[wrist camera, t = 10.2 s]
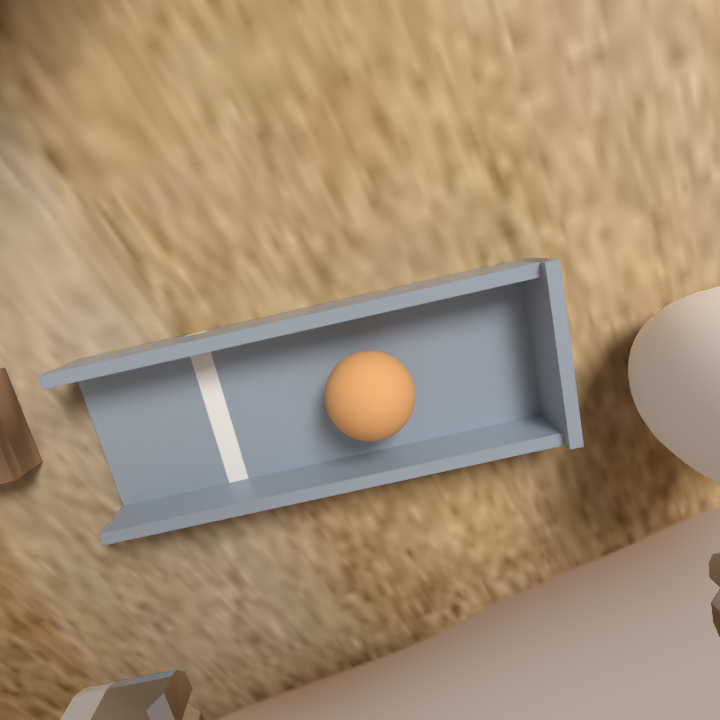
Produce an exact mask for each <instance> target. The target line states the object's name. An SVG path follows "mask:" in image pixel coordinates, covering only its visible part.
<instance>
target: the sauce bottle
mask: <svg viewBox="0 0 720 720" xmlns="http://www.w3.org/2000/svg"><path fill="white" fill-rule="evenodd" d="M628 378H629V385H630V391H631V394H632V397H633V400H634V403H635V405H636V408H637V410H638V412H639V414H640V416H641V417H642V419H643V420H644V422H645V423H646V425H647V426H648V428H649V429H650V431H651V432H652V433H653V435H654V436H655V437H656V438H657V439H658V440H659V441H660V442H661V443H662V444H663V445H664V446H665V447H666V448H668V449H669V450H670V451H671V452H672V453H674V454H675V455H676V456H677V457H678V458H680V459H681V460H682V461H683V462H684V463H686V464H687V465H689V466H690V467H691V468H693V469H694V470H696V471H697V472H699V473H700V474H702V475H704V476H705V477H707V478H709V479H711V480H712V481H714V482H716V483H718V484H720V287H716V288H712V289H708V290H704V291H700V292H696V293H693V294H691V295H688V296H686V297H684V298H682V299H679V300H677V301H675V302H673V303H671V304H669V305H667V306H666V307H664V308H663V309H661V310H660V311H659V312H657V313H656V314H654V315H653V316H652V317H651V318H650V319H649V320H648V321H647V322H646V323H645V324H644V325H643V326H642V328H641V329H640V331H639V332H638V334H637V336H636V337H635V340H634V342H633V345H632V347H631V351H630V355H629V360H628Z"/></svg>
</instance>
